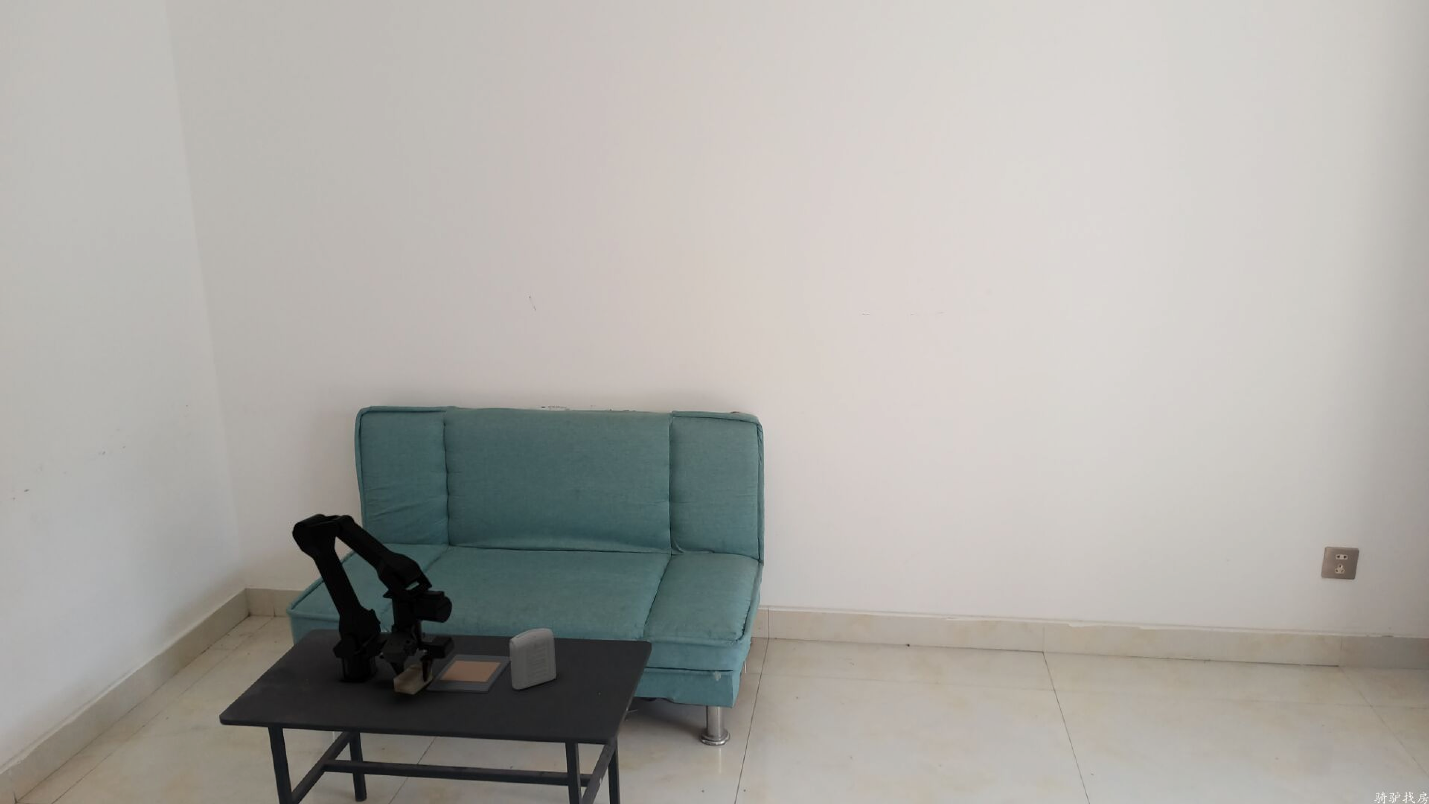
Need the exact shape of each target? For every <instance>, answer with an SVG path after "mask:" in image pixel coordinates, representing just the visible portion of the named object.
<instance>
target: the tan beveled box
mask: <svg viewBox="0 0 1429 804" xmlns="http://www.w3.org/2000/svg"><path fill="white" fill-rule="evenodd" d="M432 669H433V667H432V668H431V671H430V674H429V677H428V680H427V682H424V680H423V670H422V665H421V664H411V665H410V666H409V667H408V668H407V669H404V672H402V673H401V674H400V675H398V676H397V675H396V677H394V678H393V685H394V686H393V687H394V692H397V693H402V694H403V693H404V694H409V695H415V694H417V693H418V691H421V689H423V688H424V687H425V686H427V684H429V683H431V682H432V681H433V680H434V679H433V678H434V677H433V670H432ZM432 679H433V680H432Z"/></svg>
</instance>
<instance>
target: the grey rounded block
mask: <svg viewBox="0 0 1429 804" xmlns="http://www.w3.org/2000/svg"><path fill="white" fill-rule="evenodd" d="M554 637H555V636H554V634H553V631H552V630H551V629H550V628H543V627H541V628H533V629H529V630H526V631H524V632H521V633H519V634H517V635H516V636H514V637H512V638H510V639H509V644H508V645H509V657H510V661H511V662H510V673H511V686H512V688H513V689H514V690H518V691H519V690H523V689H526V688H530V687H533V686H536V685H539V684H543V683H546V682H549V681H552V680H554V679H556V678H557V669H556V667H557V666H556V655H555V653H556V651H555V638H554Z"/></svg>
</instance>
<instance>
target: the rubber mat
mask: <svg viewBox="0 0 1429 804" xmlns="http://www.w3.org/2000/svg"><path fill="white" fill-rule="evenodd" d="M510 664H511V662H510V656H503V655H483V654H482V655H480V654H478V655H477V654H455V655H454V657H452V659H451V660H450V661H449V662H448V663H447V664H446V665H445V666H444V667H443V668H442V670H441V671H440V672H439V673H438V675H437V676H436V677H435V678H434V679H433V680H431V681H430V684H429V685H428V686H427V687H426V691H435V692H453V693H454V692H455V693H472V694H473V693H475V694H476V693H477V694H487V693H489V691H490V689H491V688H492V687H493V685H494V684H495V683H496V681H498V679H499V678H500V676H501V675H502V674H503V672H504V671H505V670H506V668H507V667H508V666H509V665H510ZM507 665H508V666H507ZM504 669H505V670H504ZM501 673H502V674H501Z"/></svg>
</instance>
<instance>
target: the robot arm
mask: <svg viewBox="0 0 1429 804" xmlns="http://www.w3.org/2000/svg"><path fill="white" fill-rule="evenodd" d="M291 536H292V538H293V541H294V542H295V543H296V546H297V547H298V548H299V550H300V551H301V552H303V553H304V554H305V555H307V556H308V557H310V558H311V559H312V561H313V562H314V564H315V566H316V568H317V571H318V573H319V574H320V577H321V579H322V581H323V583H324V585H325V587H326V589H327V591H328V594H329V596H330V598H331V601H332V602H333V605H334V607H335V609H336V611H337V613H338V615H339V619H338V630H337V631H338V633H339V636H340V640H339V641H338V642H337V643H336V645H335V646H334V647H332V652H333V654H334V656H335V658H338V659H340V660H341V667H342V669H341V670H342V675H341V676H340V678H339V681H340V682H352V683H354V682H355V683H366V682H368V680H369V679H370V678H371V677H372V676H373V675H375V673H377V671H378V670H379V666H377V661H376V657H379V659H380V660H384V661H385V663H389V665H390V666H391V667H392V669H393V671H394V673H395V674H396V677H397V676H398V675H400V674H401V673H402V672H404V671H405V662H406V661H407V660H408V658H409V657H414V656H415V654H416V653H417V651H423V654H422V656H421V657H420V658H419V659H418V660H419V661H420V663H421V664H422V665H421V666H422V670H423V680H424V682H427V680H428V677H429V674H430V671H431V668H432V669H433V664H434V661H435V659H436V660H437V659H438V660H443V659H446V658H447V656H448V655H450V654H451V652H452V651H453V650H454V649H455V647H456V646H455V645H456V644H455V640H454V638H453V637H452V636H448V635H447V636H445V635H443V636H442V635H441V636H440V635H436V636H435V637H434V638H433V639H432V640H430V641H425V640H424V639H425V638H426V636H427V635H426V632H423V627H422V622H424V621H425V622H433V623H439V624H443V623H444V624H445V623H446V622H447V621H448V620H449V618H450V617H451V614H452V611H453V604H452V601H451V598H449V597H448V596H446V593H445V591H444V590H432V589H431V588H433V584H432V583H431V581H430V579H429V578H428V577H427V576H426V575H425V573H424V571H423V570H422V569H421V566H420V564H419V563H418V562H417V561H415V559H413V558H411V557H410V556H407V555H406V554H403V553H398V552H394V551H392V550H390V549H389V548H388V547H387V546H385V545H384V544H383V543H382V542H380V541H379V540H378V539H377V538H375V537H374V536H373V535H372V534H371V533H369V532H368V531H367V530H366V529H364V528H363V527H362V526H361V525H359V524H358V523H357V522H356V521H355V519H354V518H353V516H351V515H350V514H342V515H340V514H333V515H325V514H323V513H316V514H314V515H312V516H309V517H307V518H305V519H302V520H300V521H298V522H296V523H295V524H294V525H293V527H292V531H291ZM336 538H337V539H338V540H339V541H341V542H342V543H343V544H344V545H346V546H347V547H348V548H349V549H351V550H352V551H353V552H354V553H355V554H356V555H358V556H359V557H361V558H362V559H363V560H364V561H365V562H366V563H367V564H369V565H370V566H371V567H372V568H374V570H375V571H376V574H377V578H378V580H379V581H380V582H381V583H382V584H383V586H385V588H387V589H388V590H386V592H384V594H382V598H383V599H388V600H390V599H391V606H392V607H391V608H392V615H393V624H392V625H391V628H390V633H382V627H381V624H382V622H381V621H380V620H379V618H378V616H377V613H376V610H374V609H373V608H370V609H367V608H366V607H365V606H364V605H363V606H362V604H361V602H360V601H359V598H358V596H357V594H356V592H355V590H354V587H353V585H352V583H351V581H350V579H349V577H348V575H347V572H346V570H345V568H344V566H343V563H342V562H341V560H340V557H339V555H338V553H337V551H336ZM415 584H417V585H416V586H413V587H412V585H415ZM410 587H412V588H410ZM430 589H431V590H430Z"/></svg>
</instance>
